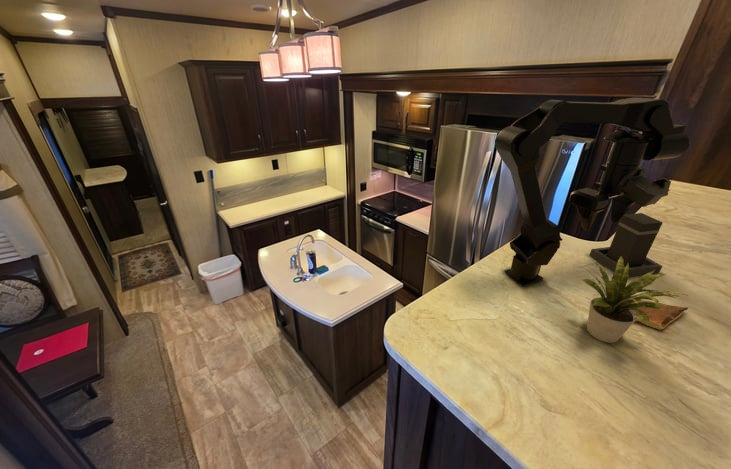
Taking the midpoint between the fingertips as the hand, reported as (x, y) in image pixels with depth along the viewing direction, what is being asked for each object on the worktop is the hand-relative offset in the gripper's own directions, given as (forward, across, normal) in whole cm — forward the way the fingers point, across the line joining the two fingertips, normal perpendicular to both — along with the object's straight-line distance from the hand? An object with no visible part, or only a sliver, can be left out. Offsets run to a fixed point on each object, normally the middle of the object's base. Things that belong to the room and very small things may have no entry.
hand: (600, 226), depth 70 cm
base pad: (+13, +11, -2) cm, 17 cm away
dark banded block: (+12, +11, -2) cm, 17 cm away
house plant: (+13, -17, -17) cm, 27 cm away
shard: (+13, -2, -16) cm, 21 cm away
